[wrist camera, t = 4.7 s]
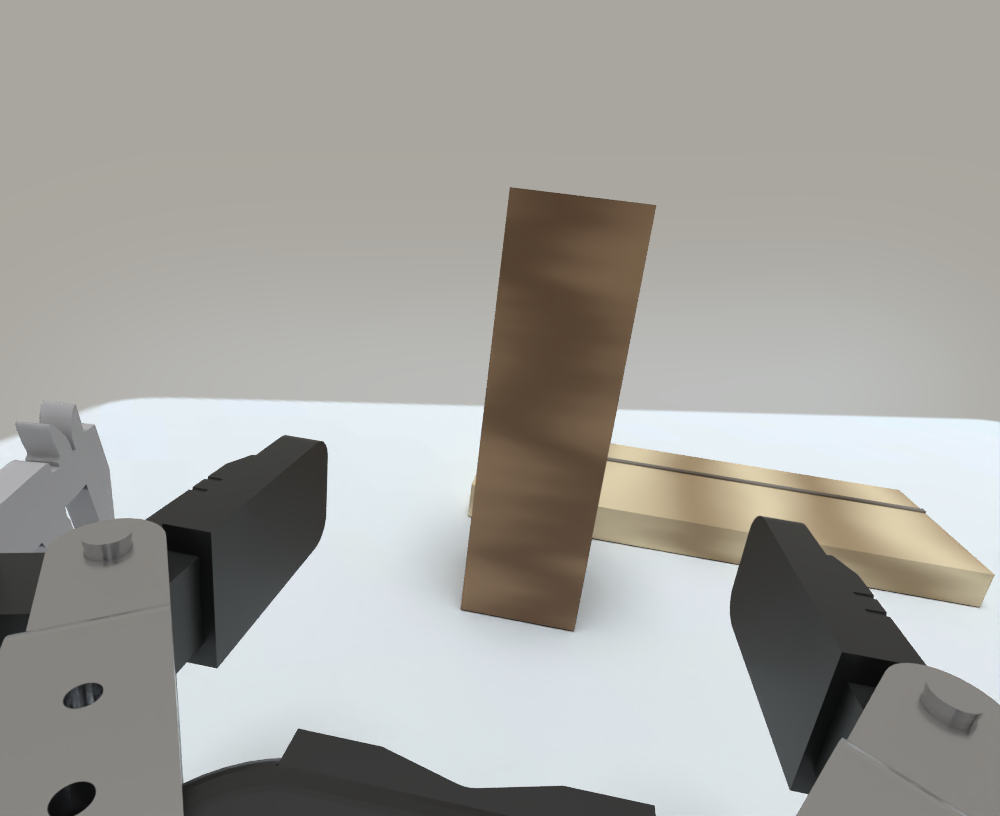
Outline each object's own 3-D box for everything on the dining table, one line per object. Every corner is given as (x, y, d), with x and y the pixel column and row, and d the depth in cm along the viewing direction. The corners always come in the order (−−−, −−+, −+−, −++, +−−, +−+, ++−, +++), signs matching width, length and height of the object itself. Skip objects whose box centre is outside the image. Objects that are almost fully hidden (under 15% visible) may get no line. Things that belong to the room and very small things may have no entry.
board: (889, 516, 33) (899, 488, 32) (979, 607, 25) (995, 572, 24) (494, 450, 35) (497, 423, 34) (468, 516, 27) (472, 482, 27)
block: (579, 475, 33) (626, 209, 28) (573, 631, 21) (656, 205, 16) (508, 463, 33) (543, 199, 29) (460, 609, 21) (510, 187, 16)
